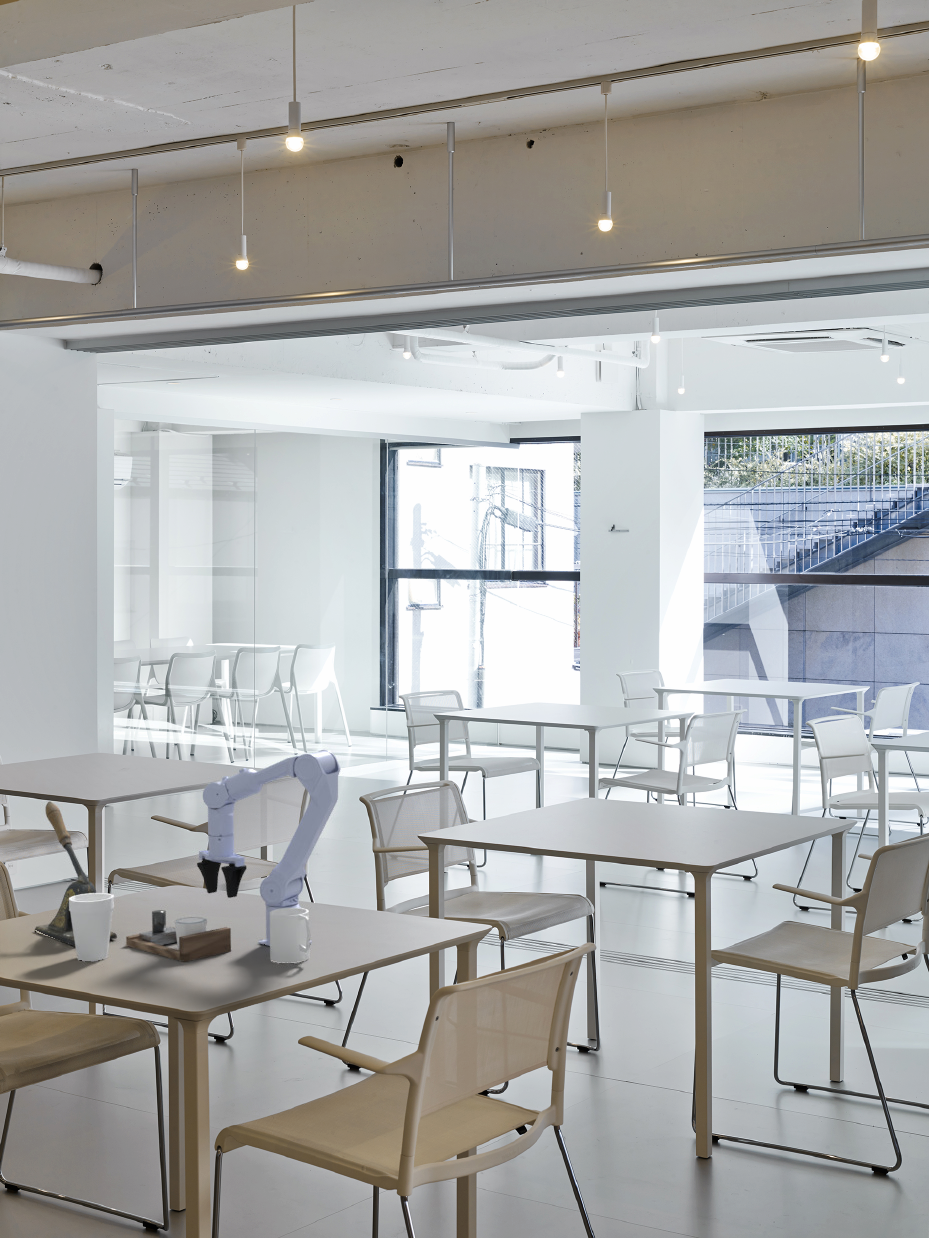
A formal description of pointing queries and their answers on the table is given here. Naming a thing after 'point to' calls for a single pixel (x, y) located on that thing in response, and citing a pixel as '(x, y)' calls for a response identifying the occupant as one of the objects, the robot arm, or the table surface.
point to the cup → (289, 935)
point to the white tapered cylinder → (189, 926)
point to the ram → (159, 930)
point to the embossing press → (62, 921)
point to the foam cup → (91, 924)
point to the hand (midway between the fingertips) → (222, 894)
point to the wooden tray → (189, 945)
